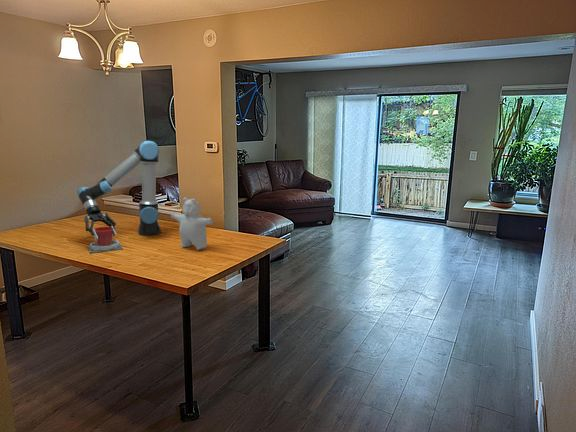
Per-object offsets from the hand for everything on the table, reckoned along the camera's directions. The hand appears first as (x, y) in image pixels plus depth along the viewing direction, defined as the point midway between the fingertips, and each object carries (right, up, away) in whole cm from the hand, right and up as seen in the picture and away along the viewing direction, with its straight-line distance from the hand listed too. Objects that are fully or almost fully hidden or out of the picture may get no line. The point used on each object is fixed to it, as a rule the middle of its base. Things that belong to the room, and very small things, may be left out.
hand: (106, 237), depth 243 cm
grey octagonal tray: (-2, -7, +3) cm, 8 cm away
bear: (+51, -7, +6) cm, 52 cm away
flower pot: (-2, -4, +3) cm, 6 cm away
